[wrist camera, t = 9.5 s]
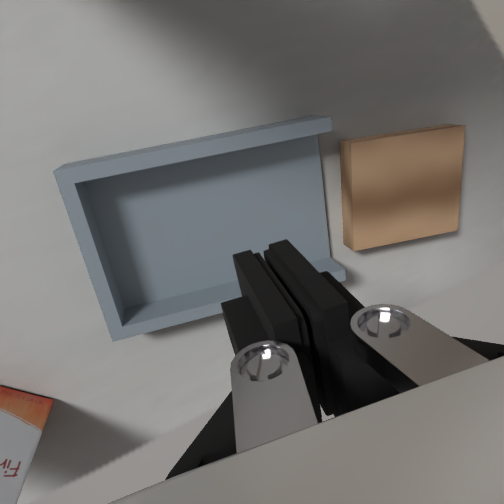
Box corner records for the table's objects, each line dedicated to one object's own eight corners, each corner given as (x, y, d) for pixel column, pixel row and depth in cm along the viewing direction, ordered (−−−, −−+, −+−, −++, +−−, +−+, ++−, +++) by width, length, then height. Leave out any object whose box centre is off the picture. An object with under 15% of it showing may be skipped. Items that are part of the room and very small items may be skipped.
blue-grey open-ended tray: (64, 164, 29) (53, 171, 26) (313, 115, 32) (331, 116, 28) (116, 319, 34) (112, 341, 30) (329, 265, 36) (345, 280, 33)
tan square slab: (337, 140, 33) (351, 142, 31) (444, 124, 35) (465, 125, 33) (341, 242, 36) (353, 251, 34) (439, 222, 38) (457, 230, 36)
